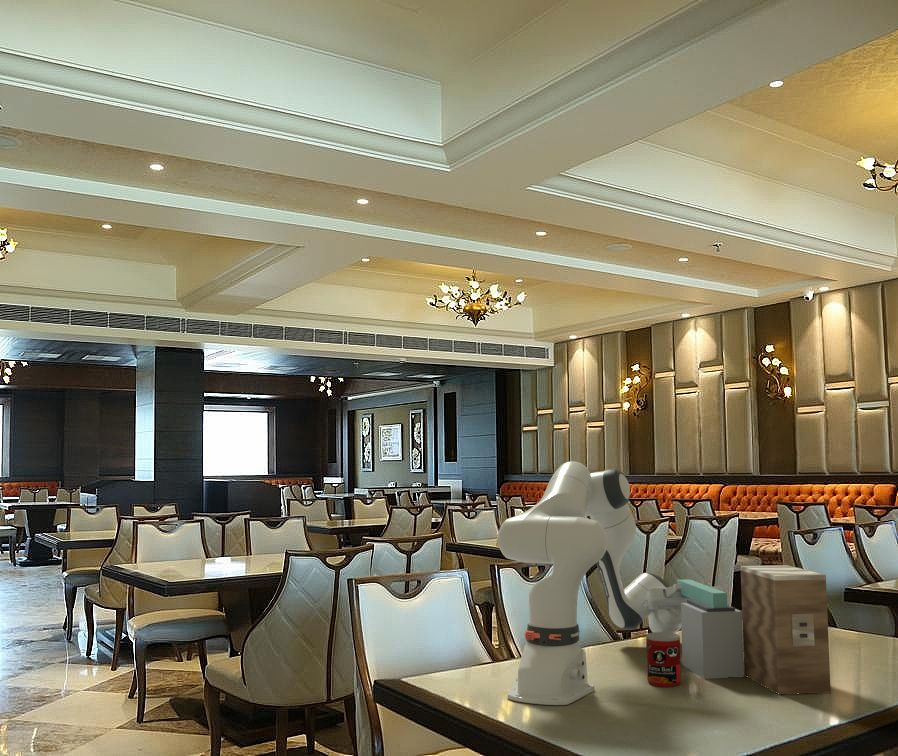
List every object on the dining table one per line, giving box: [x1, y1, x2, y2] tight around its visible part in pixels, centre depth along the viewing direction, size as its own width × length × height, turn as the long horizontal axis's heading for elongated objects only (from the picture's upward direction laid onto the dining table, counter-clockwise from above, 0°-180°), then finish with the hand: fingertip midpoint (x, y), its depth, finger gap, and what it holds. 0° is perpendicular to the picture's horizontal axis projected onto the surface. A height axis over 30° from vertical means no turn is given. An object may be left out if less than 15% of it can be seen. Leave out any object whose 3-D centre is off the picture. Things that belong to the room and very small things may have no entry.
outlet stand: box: [740, 564, 832, 695], centre depth 207 cm, size 19×12×26 cm, turn 6°
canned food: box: [645, 632, 682, 688], centre depth 208 cm, size 8×8×11 cm
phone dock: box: [681, 600, 745, 680], centre depth 220 cm, size 14×10×16 cm
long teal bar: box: [676, 579, 728, 608], centre depth 227 cm, size 24×4×4 cm, turn 6°
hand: (693, 586), depth 232 cm, fingers open, 7 cm apart
